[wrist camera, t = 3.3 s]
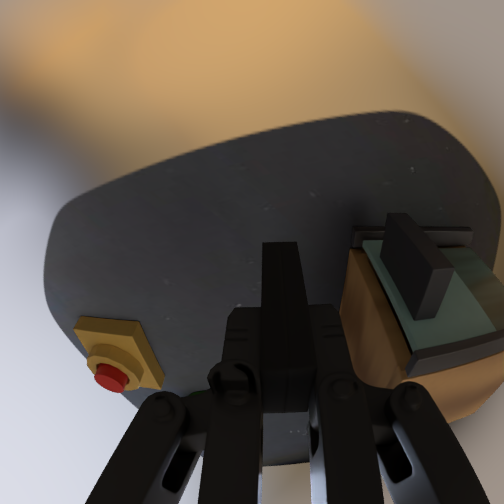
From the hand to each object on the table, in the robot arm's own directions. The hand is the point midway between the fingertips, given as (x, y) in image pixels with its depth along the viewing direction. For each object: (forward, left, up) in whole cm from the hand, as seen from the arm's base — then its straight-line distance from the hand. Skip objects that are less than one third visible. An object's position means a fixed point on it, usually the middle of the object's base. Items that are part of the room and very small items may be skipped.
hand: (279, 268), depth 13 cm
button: (+17, -18, -4) cm, 25 cm away
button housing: (+17, -18, -8) cm, 25 cm away
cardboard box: (+9, +12, -8) cm, 16 cm away
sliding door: (+1, +9, -6) cm, 11 cm away
